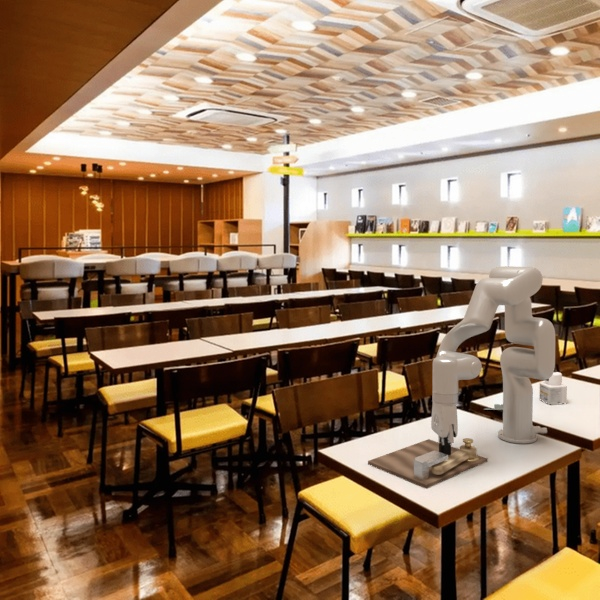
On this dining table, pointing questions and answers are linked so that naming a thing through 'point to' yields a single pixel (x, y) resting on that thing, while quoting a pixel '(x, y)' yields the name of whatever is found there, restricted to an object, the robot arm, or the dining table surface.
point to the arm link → (454, 459)
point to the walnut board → (404, 463)
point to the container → (553, 389)
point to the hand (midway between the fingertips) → (444, 456)
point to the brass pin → (468, 445)
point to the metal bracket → (496, 407)
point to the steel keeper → (427, 463)
